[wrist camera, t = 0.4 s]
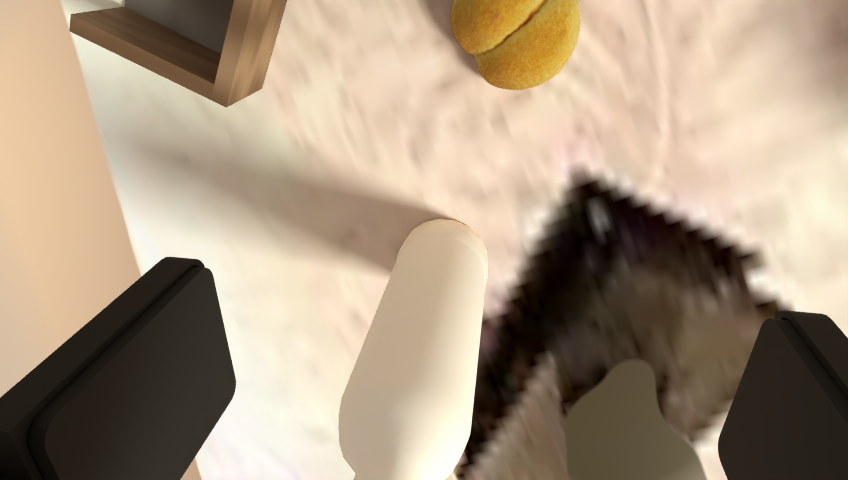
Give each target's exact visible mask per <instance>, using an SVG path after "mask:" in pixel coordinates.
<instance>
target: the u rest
mask: <svg viewBox="0 0 848 480" xmlns="http://www.w3.org/2000/svg"><path fill="white" fill-rule="evenodd" d="M286 2H287V0H126V1H125V7H119V8H112V9H105V10H98V11H91V12H84V13H76V14H71V20H70V32H72V33H74V34H77V35H79V36H81V37H83V38H85V39H87V40H89V41H91V42H93V43H95V44H97V45H99V46H101V47H103V48H105V49H107V50H109V51H111V52H114V53H116V54H118V55H120V56H122V57H124V58H126V59H128V60H130V61H132V62H134V63H136V64H138V65H140V66H142V67H144V68H146V69H148V70H151V71H153V72H155V73H157V74H159V75H161V76H163V77H165V78H167V79H169V80H171V81H173V82H175V83H177V84H179V85H181V86H183V87H185V88H188V89H190V90H192V91H194V92H196V93H198V94H200V95H202V96H204V97H206V98H208V99H210V100H212V101H214V102H216V103H218V104H220V105H222V106H225V107H228V106H230V105H232V104H234V103H236V102H237V101H239V100H241V99H243V98H245V97H247V96H249V95H251V94H253V93H254V92H256V91H258V90H260V89H262V86H263V83H264V79H265V76H266V72H267V69H268V65H269V62H270V58H271V55H272V51H273V48H274V44H275V41H276V37H277V34H278V30H279V27H280V23H281V20H282V16H283V13H284V9H285V6H286Z"/></svg>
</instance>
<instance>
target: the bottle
mask: <svg viewBox="0 0 848 480" xmlns="http://www.w3.org/2000/svg"><path fill="white" fill-rule="evenodd" d="M487 265H488V260H487V249H486V247H485V245H484V243H483V242H482V240H481V238H480V236H479V235H477V234H476V233H475V232H474V231H473V230H472V229H471V228H470V227H468V226H466V225H464V224H462V223H459V222H457V221H455V220H446V219H436V220H431V221H427V222H424V223H422V224H421V225H419V226H417V227H416V228H414V229H413V230H412V231H411V232H410V234H409V235H408V236H407V238H406V239H405V241H404V243H403V245H402V246H401V248H400V250H399V252H398V256H397V260H396V263H395V266H394V268H393V271H392V273H391V276H390V279H389V281H388V284H387V286H386V289H385V291H384V294H383V296H382V299H381V301H380V304H379V306H378V309H377V311H376V314H375V316H374V319H373V321H372V324H371V326H370V329H369V331H368V334H367V336H366V339H365V341H364V344H363V346H362V349H361V351H360V354H359V356H358V359H357V361H356V364H355V366H354V369H353V371H352V374H351V376H350V379H349V381H348V384H347V386H346V389H345V391H344V394H343V396H342V400H341V405H340V411H339V442H340V447H341V450H342V454H343V457H344V459H345V460H346V461H347V463H348V464H349V465H350V467H351V468H352V469H353V470H354V472H355V473H356V474H355V477H354V480H445V479H446V478H447V477H448V476H449V475H450V474H451V472H452V471H453V469H454V468H455V466H456V464H457V463H458V461H459V459H460V457H461V455H462V453H463V451H464V449H465V446H466V444H467V441H468V438H469V436H470V431H471V422H472V412H473V402H474V392H475V383H476V373H477V363H478V353H479V344H480V334H481V324H482V314H483V304H484V295H485V285H486V282H487V278H488V266H487Z"/></svg>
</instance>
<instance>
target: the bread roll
mask: <svg viewBox="0 0 848 480" xmlns="http://www.w3.org/2000/svg"><path fill="white" fill-rule="evenodd" d="M450 19H451V25H452V29H453V32H454V35H455V38H456V40H457V42H458V43H459V44H460V46H461V47H462V48H463V49H464V50H465V51H466V52H468V53H469V54H471V55H473V56H474V57H475V59H476V60H477V65H478V69H479V72H480V74H481V75H482V77H483V78H484V79H485V80H486V81H487V82H488V83H489V84H491V85H493V86H496V87H498V88H503V89H509V90H523V89H527V88H531V87H535V86H538V85H541V84H543V83H545V82H547V81H548V80H550V79H551V78H553V77H554V76H555V75H557V74H558V73H559V72H560V71H561V70H562V69H563V68H564V66H565V65H566V64H567V62H568V61H569V59H570V57H571V55H572V53H573V51H574V49H575V46H576V43H577V40H578V36H579V31H580V22H581V14H580V4H579V0H454V2H453V5H452V8H451V17H450Z"/></svg>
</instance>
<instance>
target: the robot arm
mask: <svg viewBox="0 0 848 480" xmlns="http://www.w3.org/2000/svg"><path fill="white" fill-rule="evenodd" d="M235 388H236V379H235V374H234V370H233V365H232V360H231V356H230V351H229V347H228V342H227V338H226V333H225V328H224V324H223V319H222V315H221V310H220V306H219V301H218V296H217V292H216V287H215V283H214V278H213V275H212V272H211V271H210V269H208V268H205V267H204V264H203V263H202V262H201V261H200V260H198V259H188V258H177V257H165V258H164V259H162V260H161V261H159V262H158V263H157V264H156V265H155V266H154V267H152V268H151V269H150V270H149V271H148V272H147V273H145V274H144V275H143V276H142V277H141V278H140V279H138V280H137V281H136V282H135V283H134V284H133V285H131V286H130V287H129V288H128V289H127V290H126V291H124V292H123V293H122V294H121V295H120V296H119V297H118V298H116V299H115V300H114V301H113V302H112V303H110V304H109V305H108V306H107V307H106V308H105V309H103V310H102V311H101V312H100V313H99V314H98V315H96V316H95V317H94V318H93V319H92V320H91V321H89V322H88V323H87V324H86V325H85V326H84V327H82V328H81V329H80V330H79V331H78V332H77V333H75V334H74V335H73V336H72V337H71V338H70V339H68V340H67V341H66V342H65V343H64V344H62V346H60V347H59V348H58V349H57V350H55V351H54V352H53V353H52V354H51V355H50V356H48V357H47V358H46V359H45V360H44V361H43V362H41V363H40V364H39V365H38V366H37V367H36V368H35V369H33V370H32V371H31V372H30V373H29V374H28V375H26V376H25V377H24V378H23V379H22V380H21V381H19V382H18V383H17V384H16V385H15V386H13V387H12V388H11V389H10V390H9V391H8V392H7V393H5V394H4V395H3V396H2V397H1V398H0V480H180V479H181V478H182V476H183V474H184V473H185V471H186V470H187V468H188V467H189V465H190V464H191V462H192V461H193V459H194V457H195V456H196V454H197V453H198V451H199V450H200V448H201V447H202V445H203V443H204V442H205V440H206V439H207V437H208V436H209V434H210V433H211V431H212V429H213V428H214V426H215V425H216V423H217V422H218V420H219V419H220V417H221V415H222V414H223V412H224V411H225V409H226V408H227V406H228V405H229V403H230V401H231V400H232V398H233V395H234V392H235ZM718 453H719V458H720V461H721V464H722V466H723V469H724V471H725V474H726V476H727V479H728V480H848V338H847V337H846V336H845V335H844V333H843V332H842V331H841V330H840V329H839V328H838V326H837V325H836V324H835V323H834V322H833V321H832V319H830V318H829V317H828V316H827V315H824V314H818V313H806V312H795V311H781V312H779V313H778V314H777V315H776V316H775V318H774V319H766V320H765V321H764V322H763V324H762V326H761V329H760V331H759V334H758V337H757V339H756V342H755V344H754V347H753V350H752V352H751V355H750V358H749V360H748V363H747V365H746V368H745V371H744V373H743V376H742V379H741V381H740V384H739V386H738V389H737V392H736V394H735V397H734V400H733V402H732V405H731V407H730V410H729V413H728V415H727V418H726V421H725V423H724V426H723V428H722V431H721V434H720V437H719V441H718Z"/></svg>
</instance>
